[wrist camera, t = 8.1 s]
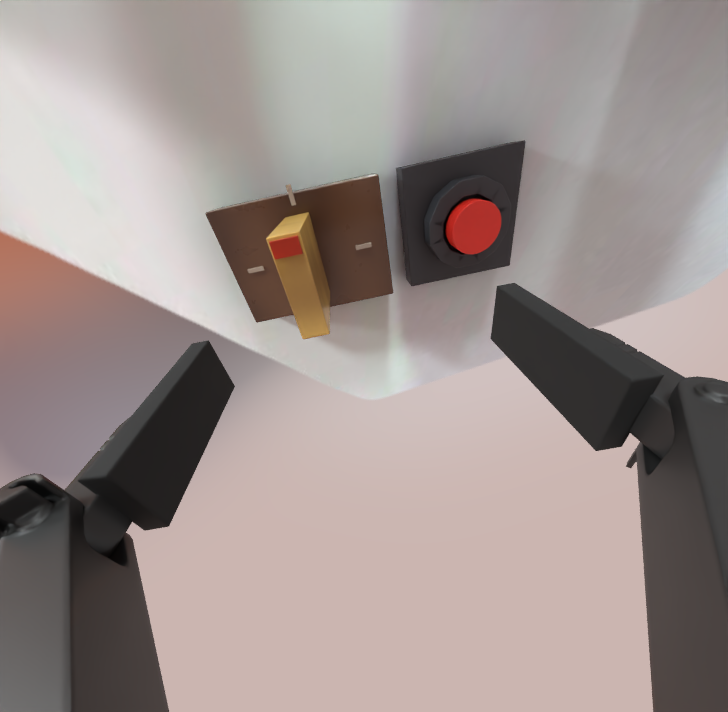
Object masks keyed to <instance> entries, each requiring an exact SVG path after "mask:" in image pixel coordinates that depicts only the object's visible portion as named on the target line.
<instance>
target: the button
mask: <svg viewBox="0 0 728 712" xmlns="http://www.w3.org/2000/svg"><path fill="white" fill-rule="evenodd" d="M500 228H501V214H500V211H499V209H498V208H497V206H496V205H495V204H493V203H492V202H489V201H486V200H481V199H476V198H471V199H467V200H464V201H462V202H461V203H459V204H458V205H457V206H456V207H455V208H454V209H453V210H452V211H451V213H450V215H449V216H448V219H447V222H446V226H445V234H446V238H447V240H448V242H449V243H450V244H451V245H452V246H453V247H454V248H456V249H457V250H459V251H461V252H462V253H465V254H477V253H480V252H482V251H484V250H485V249H487V248H488V247H489V246H490V245H491V244H492V243H493V242H494V241H495V239H496V238H497V236H498V234H499V231H500Z"/></svg>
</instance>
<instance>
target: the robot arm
mask: <svg viewBox="0 0 728 712" xmlns="http://www.w3.org/2000/svg"><path fill="white" fill-rule="evenodd" d="M491 340H492V341H493V342H494V343H495V344H496V345H497V346H498V347H499V348H500V349H501V350H502V351H503V352H504V353H505V355H506V356H507V357H508V358H509V359H510V360H511V361H512V362H513V363H514V364H515V365H516V366H517V367H518V368H519V369H520V370H521V372H522V373H523V374H524V375H525V376H526V377H527V378H528V379H529V380H530V381H531V382H532V383H533V384H534V385H535V387H537V388H538V389H539V391H540V392H541V393H542V394H543V395H544V396H545V397H546V398H547V399H548V400H549V401H550V403H552V405H553V406H554V407H555V408H556V409H557V410H558V411H559V412H560V413H561V414H562V415H563V416H564V417H565V418H566V420H567V421H568V422H569V423H570V424H571V425H572V426H573V427H574V428H575V429H576V430H577V431H578V432H579V433H580V434H581V436H582V437H583V438H584V439H585V440H586V441H587V442H588V443H589V444H590V445H591V446H592V447H593V448H594V449H595V450H596V451H599V450H605V449H610V448H616V447H621V446H622V445H623V443H624V442H625V440H626V438H627V437H628V435H629V433H631V434H632V435H634V436H635V437H636V438H637V439H638V440H639V441H640V443H639V445H638V446H637V448H636V449H635V451H634V452H633V454H632V456H631V457H630V459H629V460H628V462H627V465H626V467H629V468H631V467H632V466H633V465H634V463H635V462H637V469H638V485H639V499H640V515H641V530H642V546H643V560H644V576H645V591H646V606H647V621H648V635H649V652H650V667H651V681H652V697H653V712H728V382H725V381H721V380H717V379H713V378H705V377H689V378H685V377H683V376H681V375H680V374H678V373H676V372H674V371H673V370H671V369H669V368H668V367H666V366H664V365H662V364H660V363H659V362H657V361H656V360H654V359H652V358H650V357H649V356H647V355H645V354H644V353H642V352H637V349H635V348H633V347H632V346H630V345H628V344H627V345H626V344H625V342H623V341H621V340H620V339H618V338H616V337H615V336H613V335H611V334H608V333H606V332H603V331H599V330H597V329H594V328H591V329H589V328H587V327H585V326H584V325H582V324H580V323H579V322H577V321H575V320H574V319H572V318H571V317H569V316H567V315H566V314H564V313H562V312H561V311H559V310H558V309H556V308H554V307H553V306H551V305H549V304H548V303H546V302H545V301H543V300H541V299H540V298H538V297H536V296H535V295H533V294H531V293H530V292H528V291H527V290H525V289H523V288H522V287H520V286H518V285H517V284H515V283H511V284H506V285H501V286H497V291H496V299H495V308H494V316H493V325H492V333H491ZM234 387H235V386H234V384H233V383H232V381H231V379H230V377H229V375H228V374H227V372H226V370H225V368H224V367H223V365H222V363H221V361H220V360H219V358H218V356H217V354H216V353H215V351H214V349H213V347H212V346H211V344H210V342H209V341H204V342H199V343H193V344H191V346H190V347H189V348H188V349H187V350H186V352H185V353H184V354H183V355H182V356H181V358H180V359H179V360H178V361H177V362H176V364H175V365H174V366H173V367H172V368H171V370H170V371H169V372H168V373H167V374H166V376H165V377H164V378H163V379H162V380H161V381H160V383H159V384H158V385H157V386H156V387H155V389H154V390H153V391H152V392H151V393H150V395H149V396H148V397H147V398H146V399H145V401H144V402H143V403H142V404H141V405H140V407H139V408H138V409H137V410H136V411H135V413H134V414H133V415H132V416H131V417H130V418H128V419H127V420H126V421H125V422H124V423H122V424H121V425H120V426H119V427H118V428H117V429H116V431H115V432H114V433H113V434H112V435H111V436H110V438H109V440H108V441H106V442H105V443H104V445H103V446H102V447H101V448H100V449H101V450H100V451H98V452H97V453H96V454H95V455H94V456H93V457H92V459H91V460H90V461H89V462H88V463H87V465H86V466H85V467H84V468H83V469H82V470H81V472H80V473H79V474H78V475H77V476H76V477H75V479H74V480H73V481H72V482H71V483H70V484H69V486H68V487H67V488H66V489H65V490H63V489H62V488H60V487H58V486H57V485H56V484H54V483H53V482H51V481H50V480H49V479H47V478H46V477H44V476H43V475H41V474H30V475H26V476H23V477H21V478H19V479H16V480H14V481H12V482H10V483H8V484H7V485H5V486H3V487H2V488H1V489H0V712H169V709H168V705H167V700H166V695H165V690H164V686H163V681H162V676H161V671H160V667H159V662H158V657H157V653H156V648H155V643H154V638H153V634H152V629H151V624H150V619H149V615H148V610H147V605H146V601H145V596H144V591H143V586H142V582H141V577H140V572H139V567H138V563H137V558H136V554H135V549H134V544H133V539H132V538H131V536H130V535H129V534H127V533H126V531H127V529H128V528H129V526H130V524H131V522H134V523H135V524H137V525H138V526H139V527H141V528H142V529H143V530H150V529H156V528H162V527H168V526H169V525H170V523H171V521H172V519H173V516H174V514H175V512H176V510H177V508H178V506H179V504H180V502H181V499H182V497H183V495H184V493H185V491H186V489H187V487H188V484H189V482H190V480H191V478H192V476H193V474H194V472H195V470H196V468H197V465H198V463H199V461H200V459H201V457H202V455H203V453H204V450H205V448H206V446H207V444H208V442H209V440H210V438H211V435H212V434H213V431H214V429H215V427H216V425H217V423H218V421H219V419H220V416H221V414H222V412H223V410H224V408H225V406H226V404H227V402H228V399H229V397H230V395H231V393H232V391H233V389H234Z"/></svg>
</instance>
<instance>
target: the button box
mask: <svg viewBox="0 0 728 712" xmlns="http://www.w3.org/2000/svg"><path fill="white" fill-rule="evenodd" d="M524 148H525V141H518V142H511V143H506V144H502V145H497V146H493V147H489V148H484V149H480V150H475V151H471V152H466V153H462V154H457V155H453V156H448V157H444V158H440V159H435V160H431V161H426V162H422V163H417V164H413V165H408V166H404V167H399V168H396V171H397V181H398V192H399V203H400V213H401V224H402V235H403V245H404V256H405V266H406V277H407V280H408V282H409V283H410V285H411V286H415V285H420V284H424V283H429V282H434V281H439V280H443V279H448V278H453V277H457V276H462V275H467V274H471V273H476V272H481V271H485V270H490V269H495V268H500V267H504V266H509V265H510V257H511V249H512V242H513V234H514V226H515V218H516V210H517V202H518V195H519V187H520V179H521V171H522V163H523V155H524ZM471 198H476V199H481V200H486V201H489V202H492V203H493V204H495V205H496V206H497V208H498V209H499V211H500V214H501V228H500V231H499V234H498V236H497V238H496V239H495V241H494V242H493V243H492V244H491V245H490V246H489V247H488V248H487V249H485V250H484V251H482V252H480V253H477V254H465V253H462V252H461V251H459V250H457V249H456V248H454V247H453V246H452V245H451V244H450V243H449V242H448V240H447V238H446V234H445V226H446V222H447V219H448V216H449V215H450V213H451V211H452V210H453V209H454V208H455V207H456V206H457V205H458V204H459V203H461V202H462V201H464V200H467V199H471Z"/></svg>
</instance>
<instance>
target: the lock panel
mask: <svg viewBox="0 0 728 712" xmlns="http://www.w3.org/2000/svg"><path fill="white" fill-rule="evenodd" d="M286 188H287V192H288V193H284V194H279V195H275V196H270V197H266V198H261V199H257V200H253V201H248V202H244V203H239V204H235V205H230V206H226V207H221V208H217V209H215V210H212V211H209V212H206V216H207V218H208V220H209V222H210V224H211V227H212V229H213V231H214V233H215V235H216V237H217V239H218V241H219V244H220V246H221V248H222V250H223V252H224V254H225V256H226V259H227V261H228V263H229V265H230V267H231V269H232V271H233V274H234V276H235V278H236V280H237V282H238V284H239V286H240V288H241V291H242V293H243V295H244V297H245V299H246V301H247V303H248V306H249V308H250V310H251V312H252V314H253V316H254V318H255V320H256V322H261V321H266V320H270V319H275V318H280V317H284V316H289V315H294V314H293V311H292V308H291V306H290V303H289V300H288V297H287V295H286V292H285V289H284V286H283V284H282V281H281V278H280V276H279V273H278V270H277V267H276V265H275V262H274V259H273V256H272V254H271V251H270V248H269V246H268V243H267V240H266V238H267V237H268V236H269V235H270V234H271V233H272V231H273V230H274V229H275V228H276V227H277V226H278V225H279V224H280V223H281V222H282V221H283V220H284V218H285V217H289V216H294V215H298V214H303V213H307V212H309V214H310V218H311V222H312V226H313V229H314V233H315V237H316V241H317V244H318V248H319V252H320V256H321V259H322V263H323V267H324V271H325V275H326V278H327V282H328V286H329V290H330V307H331V306H336V305H341V304H345V303H350V302H355V301H360V300H364V299H369V298H374V297H378V296H383V295H388V294H392V293H393V287H392V279H391V271H390V263H389V255H388V247H387V240H386V232H385V224H384V216H383V208H382V200H381V192H380V185H379V177H378V174H368V175H364V176H359V177H355V178H351V179H346V180H342V181H337V182H333V183H328V184H324V185H319V186H315V187H310V188H306V189H302V190H297V191H293V192H292V188H291V185H290V184H289V185H286Z"/></svg>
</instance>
